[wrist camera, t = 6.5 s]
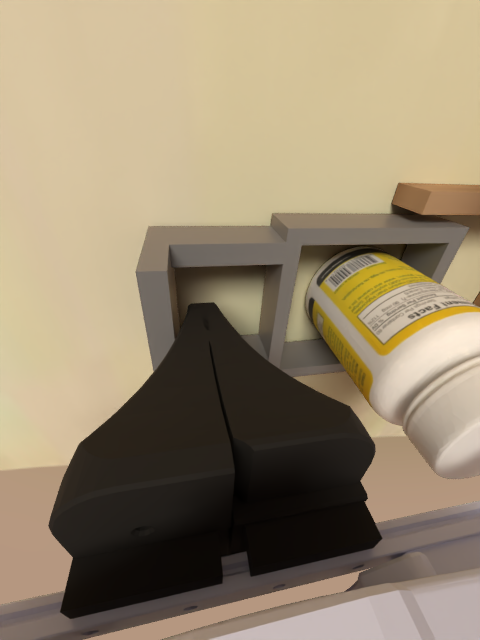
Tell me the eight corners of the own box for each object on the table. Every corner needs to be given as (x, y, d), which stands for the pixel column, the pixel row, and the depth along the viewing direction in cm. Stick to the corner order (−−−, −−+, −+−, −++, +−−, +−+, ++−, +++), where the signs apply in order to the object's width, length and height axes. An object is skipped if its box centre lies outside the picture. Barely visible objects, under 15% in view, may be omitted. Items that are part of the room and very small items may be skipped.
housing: (559, 187, 13) (607, 195, 11) (454, 347, 18) (478, 366, 17) (398, 183, 11) (431, 191, 10) (338, 359, 17) (353, 381, 15)
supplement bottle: (360, 332, 16) (495, 484, 9) (288, 320, 14) (386, 493, 8) (411, 255, 13) (646, 385, 7) (330, 231, 12) (528, 369, 5)
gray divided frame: (431, 214, 12) (521, 245, 9) (376, 342, 16) (424, 394, 13) (146, 212, 10) (131, 253, 7) (167, 360, 14) (164, 428, 11)
